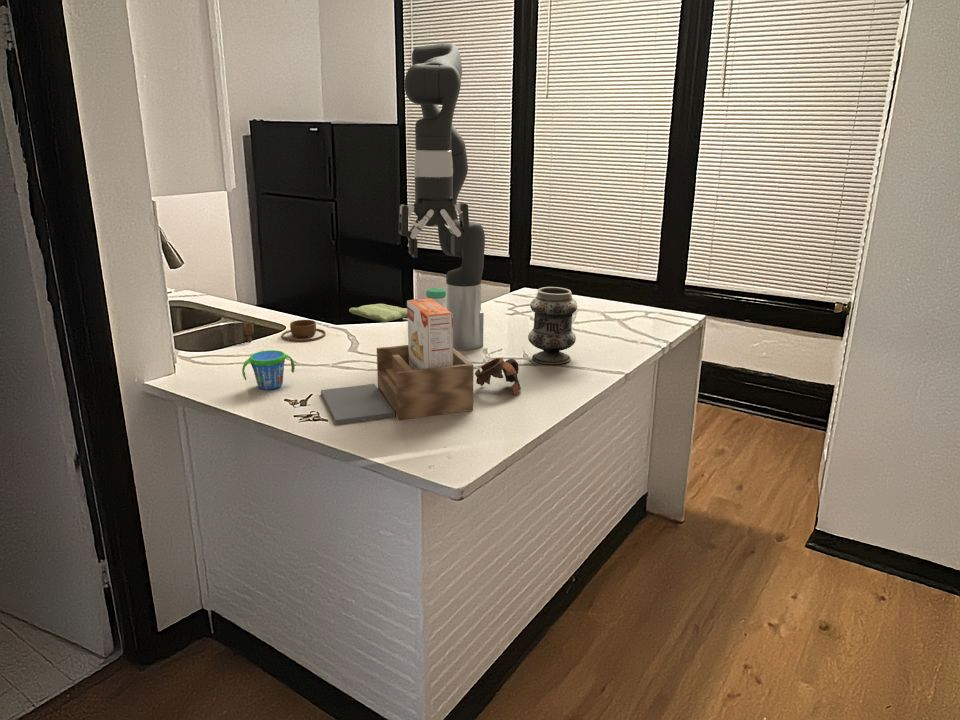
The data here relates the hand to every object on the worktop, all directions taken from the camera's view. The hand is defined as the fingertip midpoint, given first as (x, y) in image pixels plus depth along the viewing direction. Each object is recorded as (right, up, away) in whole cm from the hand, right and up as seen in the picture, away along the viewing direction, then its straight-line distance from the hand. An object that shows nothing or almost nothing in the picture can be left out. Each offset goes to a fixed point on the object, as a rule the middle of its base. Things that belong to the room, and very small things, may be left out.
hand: (434, 255), depth 147 cm
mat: (-17, -31, +6) cm, 36 cm away
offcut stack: (-7, -30, +8) cm, 32 cm away
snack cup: (-38, -27, +16) cm, 50 cm away
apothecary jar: (+28, -21, +37) cm, 51 cm away
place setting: (-44, -16, +54) cm, 71 cm away
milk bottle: (-1, -24, +28) cm, 37 cm away
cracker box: (-1, -30, +10) cm, 32 cm away
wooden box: (-3, -30, +9) cm, 31 cm away
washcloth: (-22, -8, +76) cm, 80 cm away
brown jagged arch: (+16, -29, +16) cm, 37 cm away
